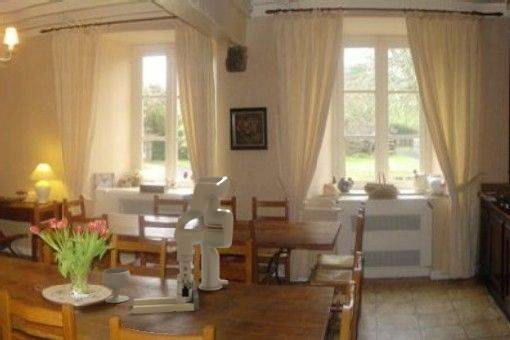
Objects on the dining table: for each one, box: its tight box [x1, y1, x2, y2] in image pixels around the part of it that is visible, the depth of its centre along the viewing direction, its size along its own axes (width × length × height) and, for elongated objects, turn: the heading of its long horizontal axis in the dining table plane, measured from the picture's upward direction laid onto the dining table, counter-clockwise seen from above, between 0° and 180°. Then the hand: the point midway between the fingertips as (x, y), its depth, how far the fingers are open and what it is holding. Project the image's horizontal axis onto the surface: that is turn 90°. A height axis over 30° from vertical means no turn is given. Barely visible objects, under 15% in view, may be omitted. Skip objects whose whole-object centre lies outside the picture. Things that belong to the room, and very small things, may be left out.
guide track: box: [132, 289, 200, 315], centre depth 266 cm, size 30×13×6 cm, turn 100°
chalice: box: [101, 267, 132, 304], centre depth 277 cm, size 14×14×15 cm
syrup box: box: [175, 273, 195, 304], centre depth 267 cm, size 6×6×14 cm
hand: (185, 293), depth 267 cm, fingers closed on syrup box, 7 cm apart
